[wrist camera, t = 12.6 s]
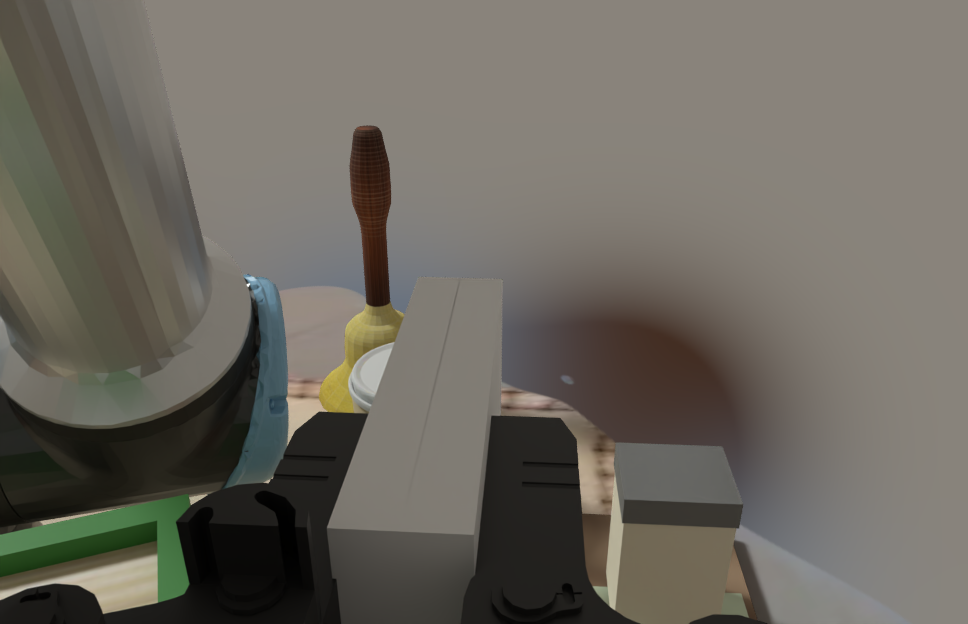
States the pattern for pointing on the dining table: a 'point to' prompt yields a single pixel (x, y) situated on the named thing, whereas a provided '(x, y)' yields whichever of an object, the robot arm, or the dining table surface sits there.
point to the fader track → (596, 563)
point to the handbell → (367, 265)
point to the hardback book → (103, 555)
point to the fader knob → (671, 532)
